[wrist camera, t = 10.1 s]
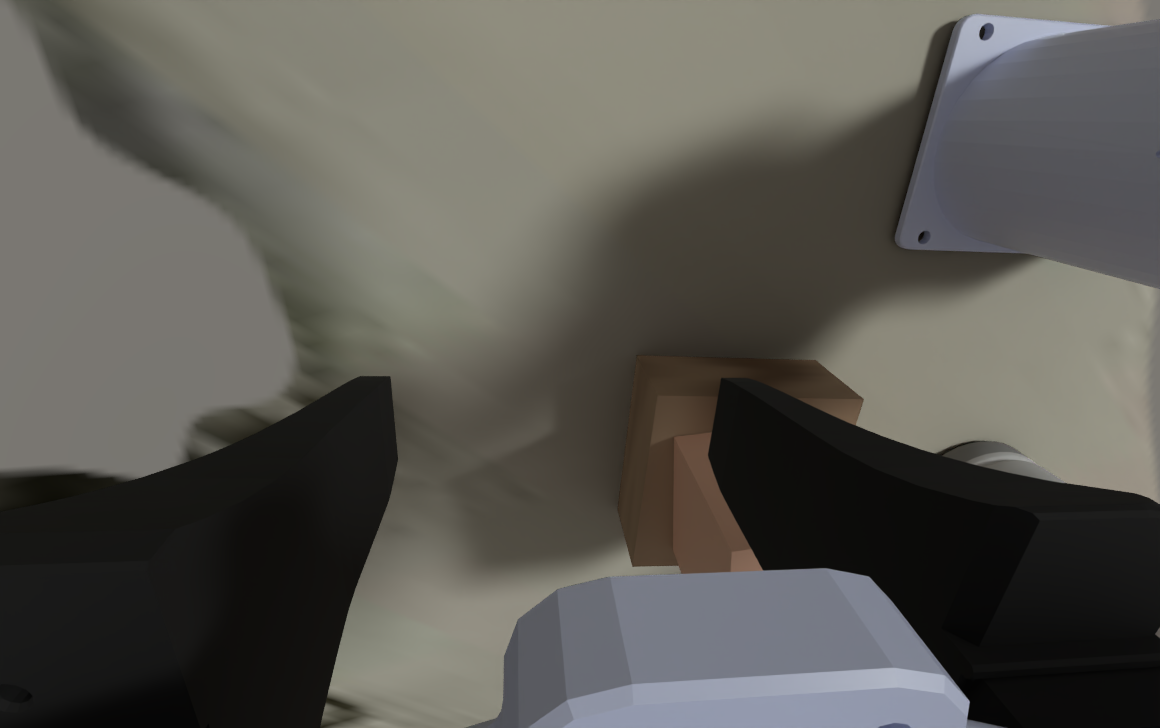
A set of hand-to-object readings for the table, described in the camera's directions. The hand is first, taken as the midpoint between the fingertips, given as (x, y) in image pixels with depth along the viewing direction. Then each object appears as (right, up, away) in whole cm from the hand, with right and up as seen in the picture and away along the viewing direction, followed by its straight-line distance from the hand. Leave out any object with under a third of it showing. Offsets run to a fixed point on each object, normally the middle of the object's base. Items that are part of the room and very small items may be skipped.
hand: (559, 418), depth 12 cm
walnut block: (+6, -2, +14) cm, 15 cm away
